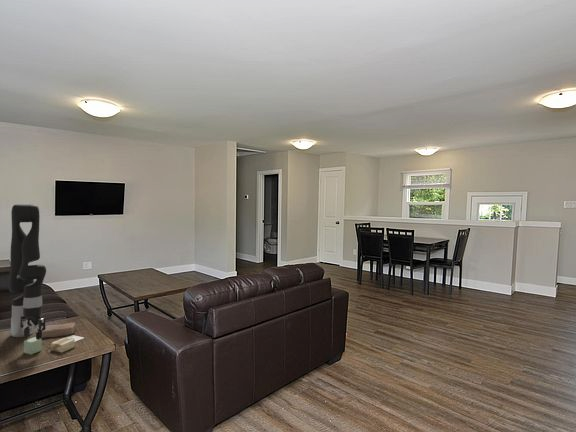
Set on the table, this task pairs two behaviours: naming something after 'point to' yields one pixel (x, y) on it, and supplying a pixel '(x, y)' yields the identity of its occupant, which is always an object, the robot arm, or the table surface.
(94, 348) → the table surface
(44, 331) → the brick
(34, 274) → the robot arm
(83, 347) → the table surface
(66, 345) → the base block
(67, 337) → the page
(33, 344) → the green block
